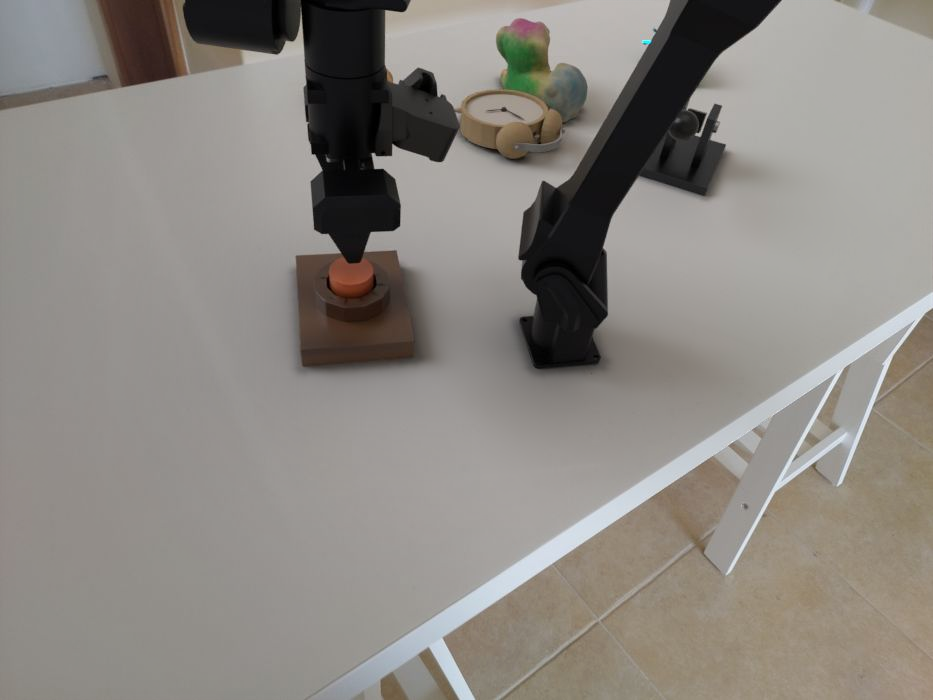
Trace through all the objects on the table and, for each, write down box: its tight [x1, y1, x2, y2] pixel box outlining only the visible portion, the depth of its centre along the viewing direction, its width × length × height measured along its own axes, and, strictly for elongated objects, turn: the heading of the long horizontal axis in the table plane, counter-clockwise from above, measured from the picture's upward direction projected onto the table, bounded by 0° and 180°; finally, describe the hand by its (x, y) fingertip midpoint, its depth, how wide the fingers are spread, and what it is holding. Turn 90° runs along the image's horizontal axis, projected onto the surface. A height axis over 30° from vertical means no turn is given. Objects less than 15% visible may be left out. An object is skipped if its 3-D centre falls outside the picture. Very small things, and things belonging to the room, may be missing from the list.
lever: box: [668, 107, 708, 141], centre depth 85 cm, size 17×3×3 cm, turn 155°
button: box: [329, 257, 374, 299], centre depth 67 cm, size 4×4×2 cm
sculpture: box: [495, 17, 588, 124], centre depth 100 cm, size 15×8×10 cm, turn 46°
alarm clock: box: [454, 88, 566, 160], centre depth 94 cm, size 11×5×15 cm
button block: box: [295, 249, 415, 367], centre depth 69 cm, size 13×10×4 cm
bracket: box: [638, 98, 727, 197], centre depth 92 cm, size 12×9×8 cm
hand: (350, 235), depth 64 cm, fingers open, 7 cm apart
